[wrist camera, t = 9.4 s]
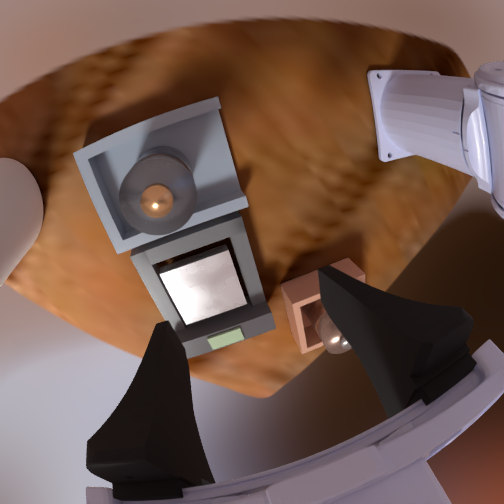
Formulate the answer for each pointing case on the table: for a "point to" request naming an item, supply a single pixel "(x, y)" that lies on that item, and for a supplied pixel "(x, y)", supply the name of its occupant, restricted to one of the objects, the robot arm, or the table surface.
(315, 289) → the pink square tube
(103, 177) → the trough
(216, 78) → the table surface
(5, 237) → the pill bottle
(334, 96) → the table surface
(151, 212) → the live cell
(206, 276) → the pad
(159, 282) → the digital scale
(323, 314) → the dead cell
